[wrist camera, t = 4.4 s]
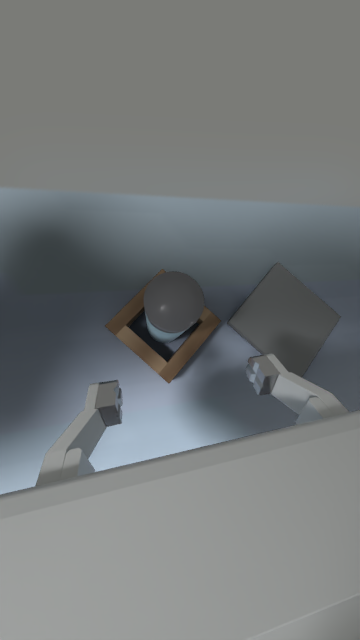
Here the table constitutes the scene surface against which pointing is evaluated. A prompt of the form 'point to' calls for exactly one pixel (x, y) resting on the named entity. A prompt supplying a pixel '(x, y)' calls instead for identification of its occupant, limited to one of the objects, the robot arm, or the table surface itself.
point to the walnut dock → (145, 352)
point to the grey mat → (285, 320)
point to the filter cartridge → (172, 305)
